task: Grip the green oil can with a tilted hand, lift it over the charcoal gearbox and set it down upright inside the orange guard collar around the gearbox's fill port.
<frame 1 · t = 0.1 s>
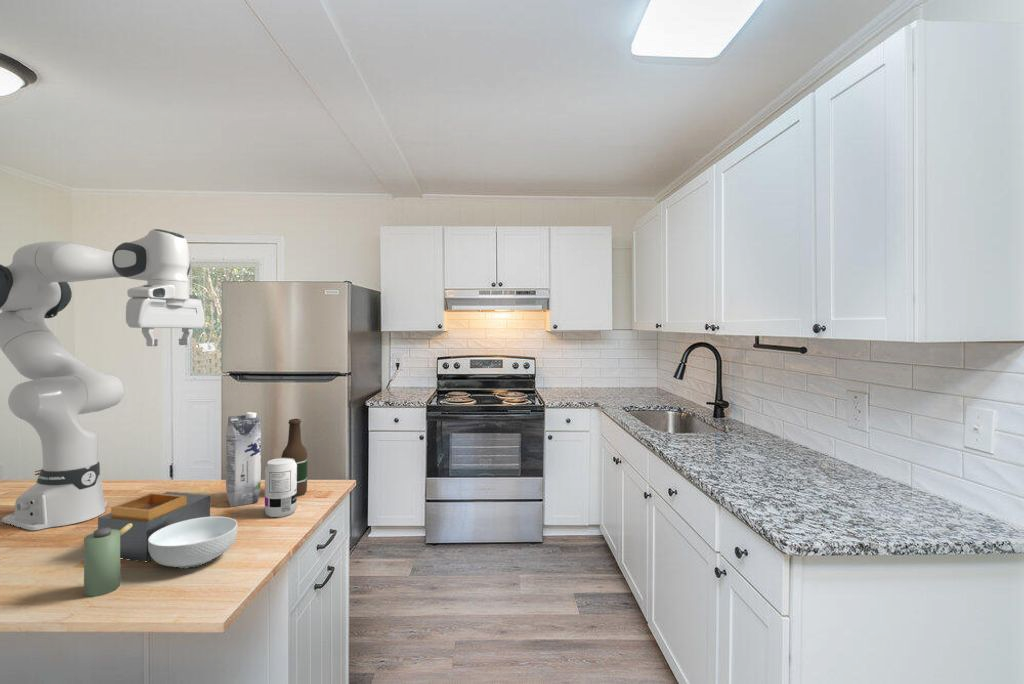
hand: (168, 345, 124), 48 cm above the countertop, tool pointing down, fingers open, 8 cm apart
beer bottle: (294, 494, 152), on the countertop
juice carton: (243, 501, 145), on the countertop
oil can: (102, 589, 95), on the countertop
cereal bowl: (194, 561, 108), on the countertop
gearbox: (157, 542, 117), on the countertop
supplement can: (280, 513, 136), on the countertop
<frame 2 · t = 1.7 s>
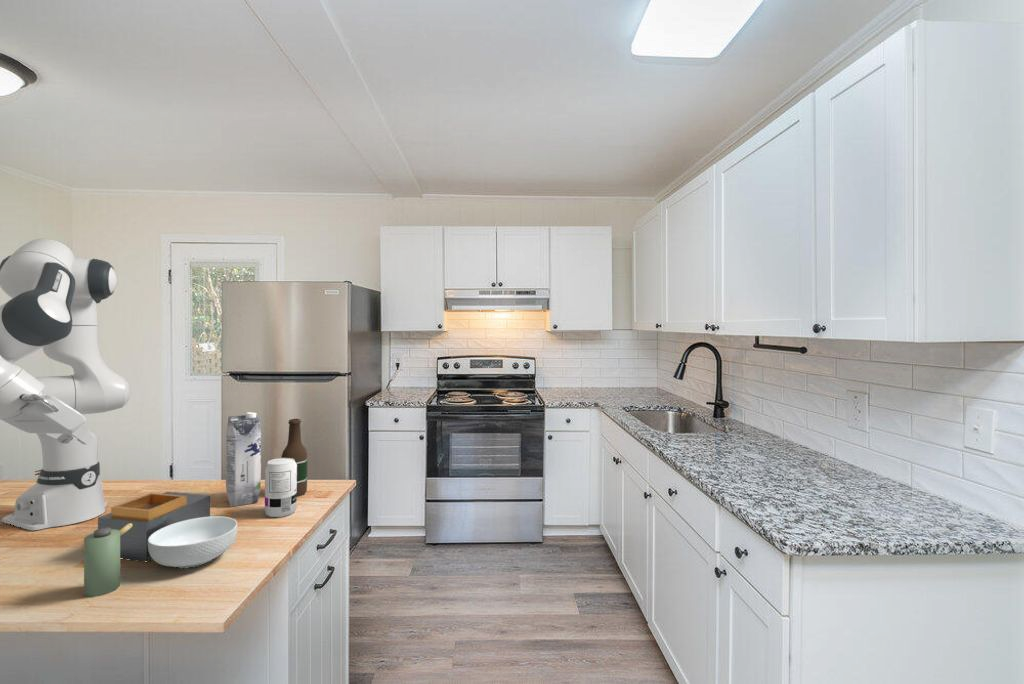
hand: (79, 441, 95), 30 cm above the countertop, tool tilted 45°, fingers open, 8 cm apart
nothing on the countertop moved.
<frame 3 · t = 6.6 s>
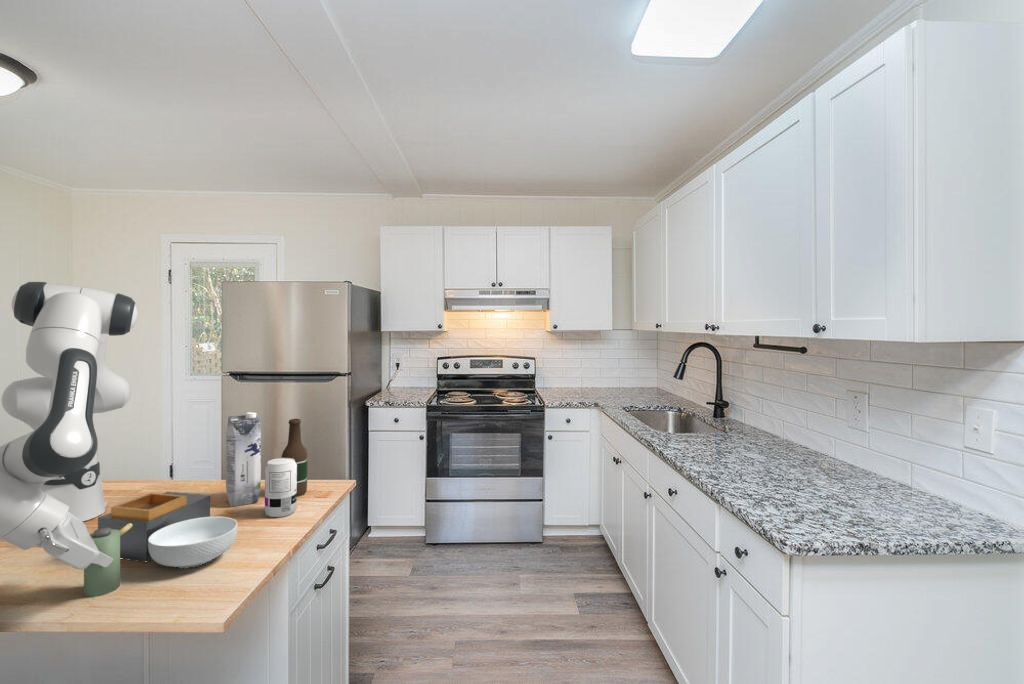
hand: (106, 556, 96), 6 cm above the countertop, tool tilted 45°, fingers closed on oil can, 5 cm apart
oil can: (102, 589, 95), on the countertop, touching gripper
everything else where it was.
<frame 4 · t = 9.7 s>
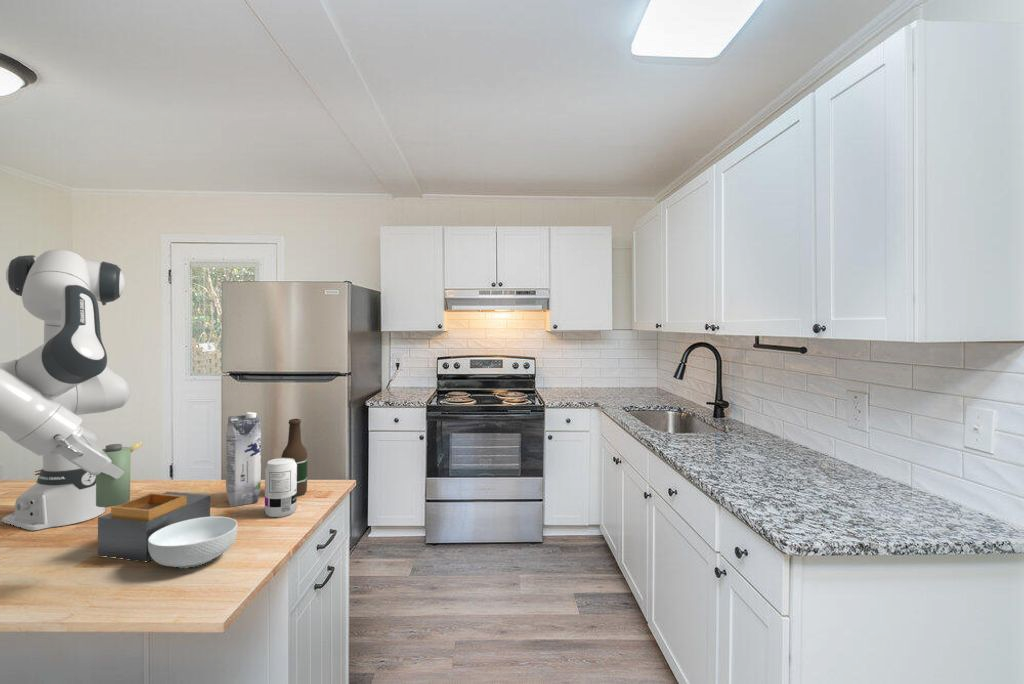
hand: (117, 471, 100), 22 cm above the countertop, tool tilted 45°, fingers closed on oil can, 5 cm apart
oil can: (113, 502, 99), point 16 cm above the countertop, touching gripper
everything else where it was.
when the fingers open (17 cm above the countertop, at t = 12.8 s): oil can drops 1 cm, resting on gearbox.
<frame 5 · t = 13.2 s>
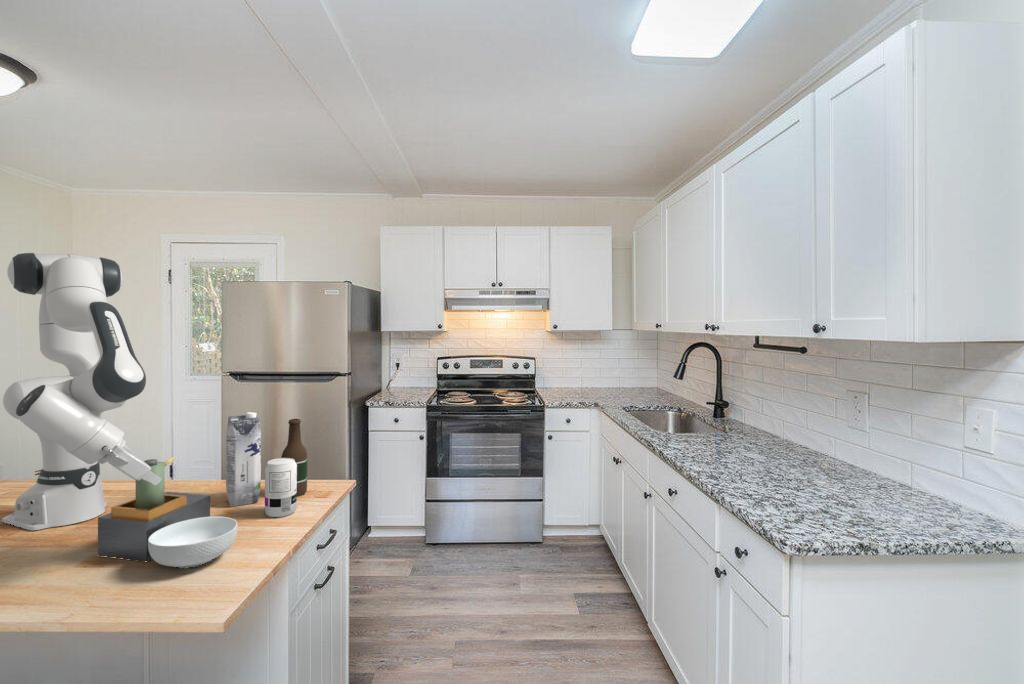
hand: (153, 477, 113), 17 cm above the countertop, tool tilted 45°, fingers open, 8 cm apart
oil can: (150, 510, 113), point 9 cm above the countertop, touching gearbox
everything else where it was.
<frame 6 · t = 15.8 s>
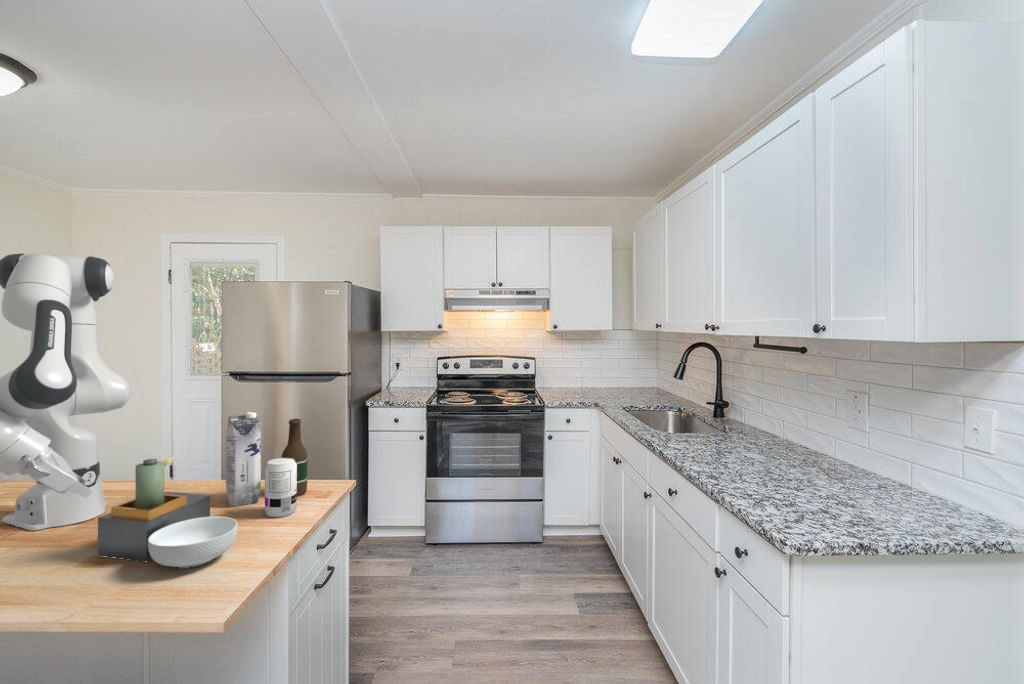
hand: (85, 489, 104), 17 cm above the countertop, tool tilted 45°, fingers open, 8 cm apart
nothing on the countertop moved.
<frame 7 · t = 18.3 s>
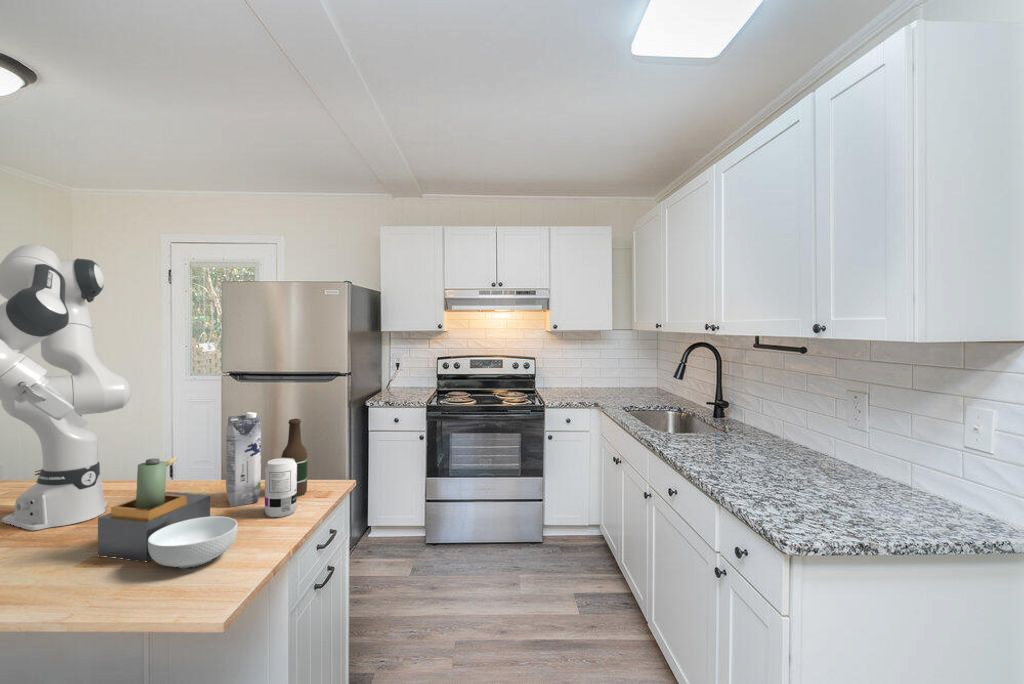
hand: (82, 422, 106), 31 cm above the countertop, tool tilted 45°, fingers open, 8 cm apart
nothing on the countertop moved.
at the end: oil can 0.1 cm from the target spot on the gearbox, point 9.1 cm above the gearbox's base; oil can tilted 2°; the gripper is holding nothing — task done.
